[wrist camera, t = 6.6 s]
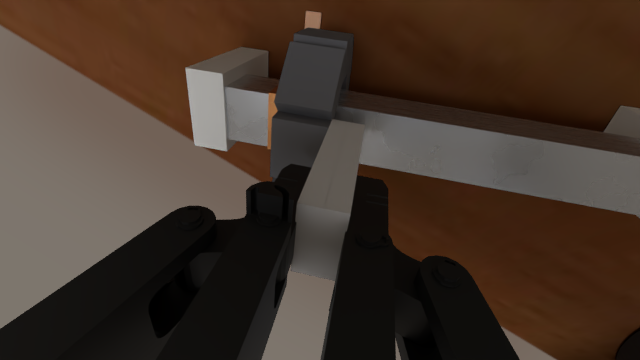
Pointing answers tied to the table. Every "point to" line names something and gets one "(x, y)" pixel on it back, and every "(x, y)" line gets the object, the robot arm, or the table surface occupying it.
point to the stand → (230, 66)
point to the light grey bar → (466, 145)
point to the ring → (308, 95)
